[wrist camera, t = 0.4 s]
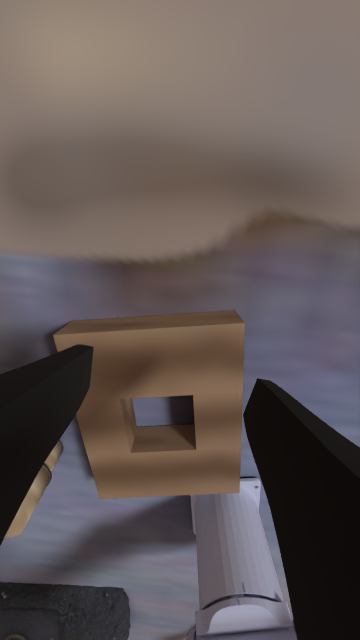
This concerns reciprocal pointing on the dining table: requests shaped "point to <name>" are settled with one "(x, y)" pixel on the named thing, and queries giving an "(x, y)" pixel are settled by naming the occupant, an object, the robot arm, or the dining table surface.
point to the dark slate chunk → (63, 612)
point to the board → (160, 381)
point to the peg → (35, 493)
